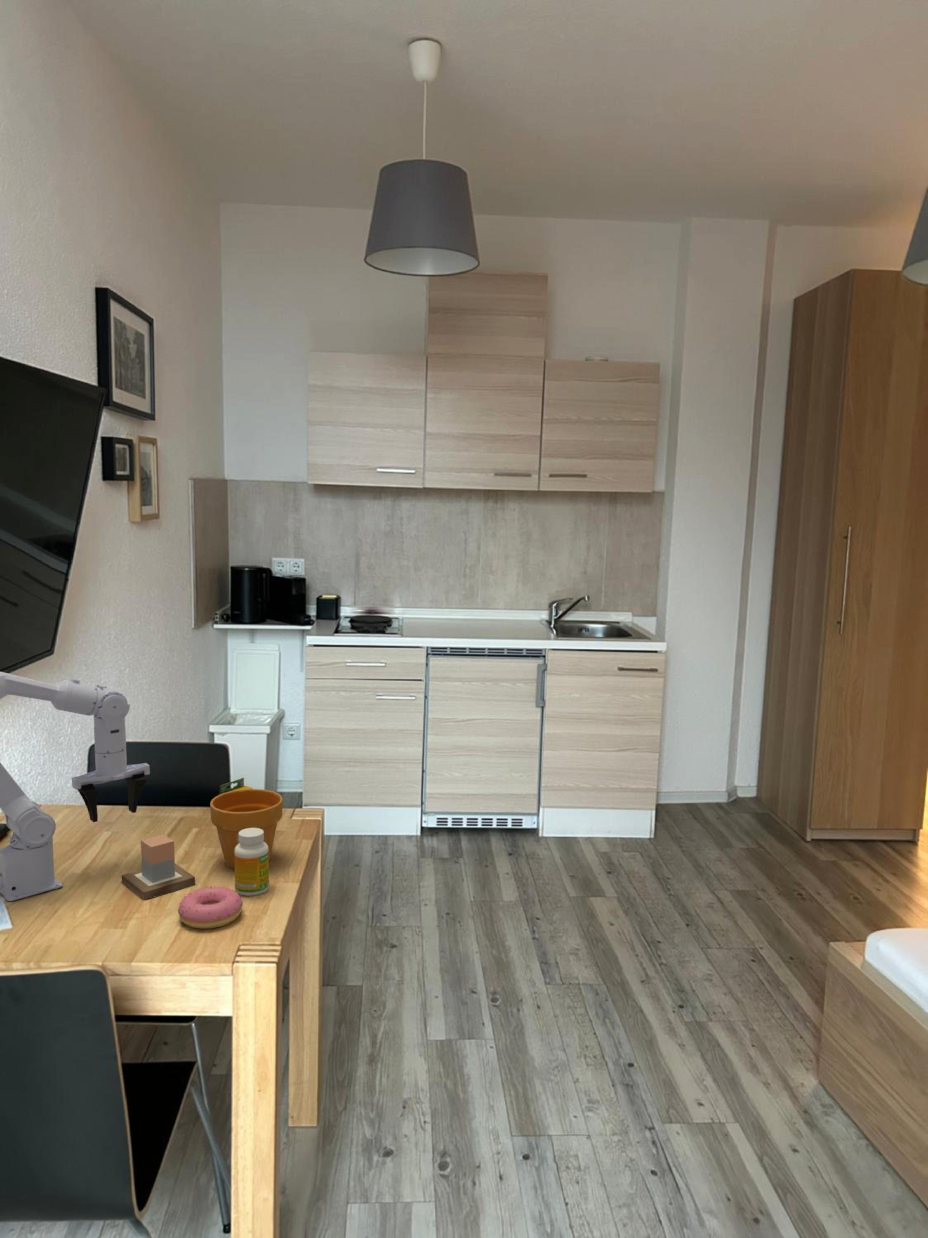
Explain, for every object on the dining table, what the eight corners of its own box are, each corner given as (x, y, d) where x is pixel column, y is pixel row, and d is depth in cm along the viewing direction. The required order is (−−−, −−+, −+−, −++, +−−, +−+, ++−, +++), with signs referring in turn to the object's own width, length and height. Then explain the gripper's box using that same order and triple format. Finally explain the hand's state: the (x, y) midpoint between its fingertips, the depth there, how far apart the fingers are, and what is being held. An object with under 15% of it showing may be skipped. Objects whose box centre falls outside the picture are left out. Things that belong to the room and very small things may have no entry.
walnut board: (144, 900, 158) (143, 892, 158) (121, 882, 165) (121, 874, 165) (195, 884, 165) (194, 876, 165) (171, 868, 172) (171, 860, 172)
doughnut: (205, 899, 159) (205, 878, 159) (255, 910, 155) (255, 888, 155) (164, 925, 149) (164, 902, 149) (216, 938, 145) (216, 914, 145)
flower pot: (265, 879, 168) (264, 815, 166) (198, 872, 170) (197, 808, 169) (293, 851, 181) (293, 791, 180) (231, 844, 184) (230, 786, 182)
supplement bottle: (264, 897, 160) (263, 839, 159) (230, 896, 160) (229, 838, 159) (272, 882, 166) (271, 826, 165) (240, 881, 166) (239, 825, 165)
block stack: (152, 883, 161) (151, 847, 160) (141, 875, 165) (140, 840, 164) (174, 876, 165) (174, 841, 164) (164, 868, 168) (163, 834, 167)
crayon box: (229, 840, 187) (228, 788, 185) (219, 837, 188) (218, 785, 187) (253, 829, 193) (253, 779, 192) (244, 826, 195) (243, 777, 193)
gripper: (79, 761, 161) (83, 830, 163) (155, 747, 171) (157, 812, 173) (66, 753, 167) (70, 820, 168) (140, 739, 176) (142, 803, 178)
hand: (113, 816), depth 171 cm, fingers open, 7 cm apart
